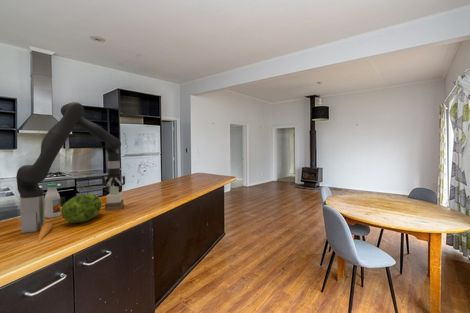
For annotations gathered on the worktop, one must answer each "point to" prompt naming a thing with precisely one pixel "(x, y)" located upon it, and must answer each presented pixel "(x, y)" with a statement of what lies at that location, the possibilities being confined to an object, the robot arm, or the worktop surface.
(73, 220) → the lettuce
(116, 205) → the base block
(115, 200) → the top block
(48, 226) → the carrot
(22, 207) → the robot arm
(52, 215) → the milk bottle
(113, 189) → the cube
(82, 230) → the worktop surface
